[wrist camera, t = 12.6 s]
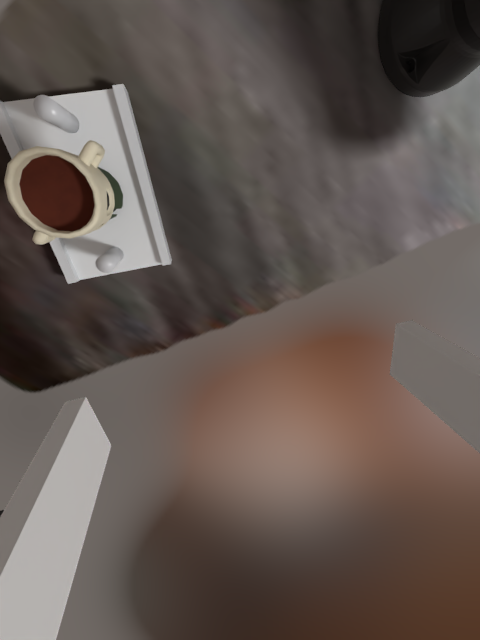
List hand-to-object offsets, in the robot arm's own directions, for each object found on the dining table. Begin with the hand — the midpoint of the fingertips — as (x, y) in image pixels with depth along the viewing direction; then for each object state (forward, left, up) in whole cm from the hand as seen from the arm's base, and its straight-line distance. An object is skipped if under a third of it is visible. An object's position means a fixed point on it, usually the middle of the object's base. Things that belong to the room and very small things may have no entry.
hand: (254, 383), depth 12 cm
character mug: (+12, -9, -31) cm, 35 cm away
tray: (+12, -9, -33) cm, 36 cm away
